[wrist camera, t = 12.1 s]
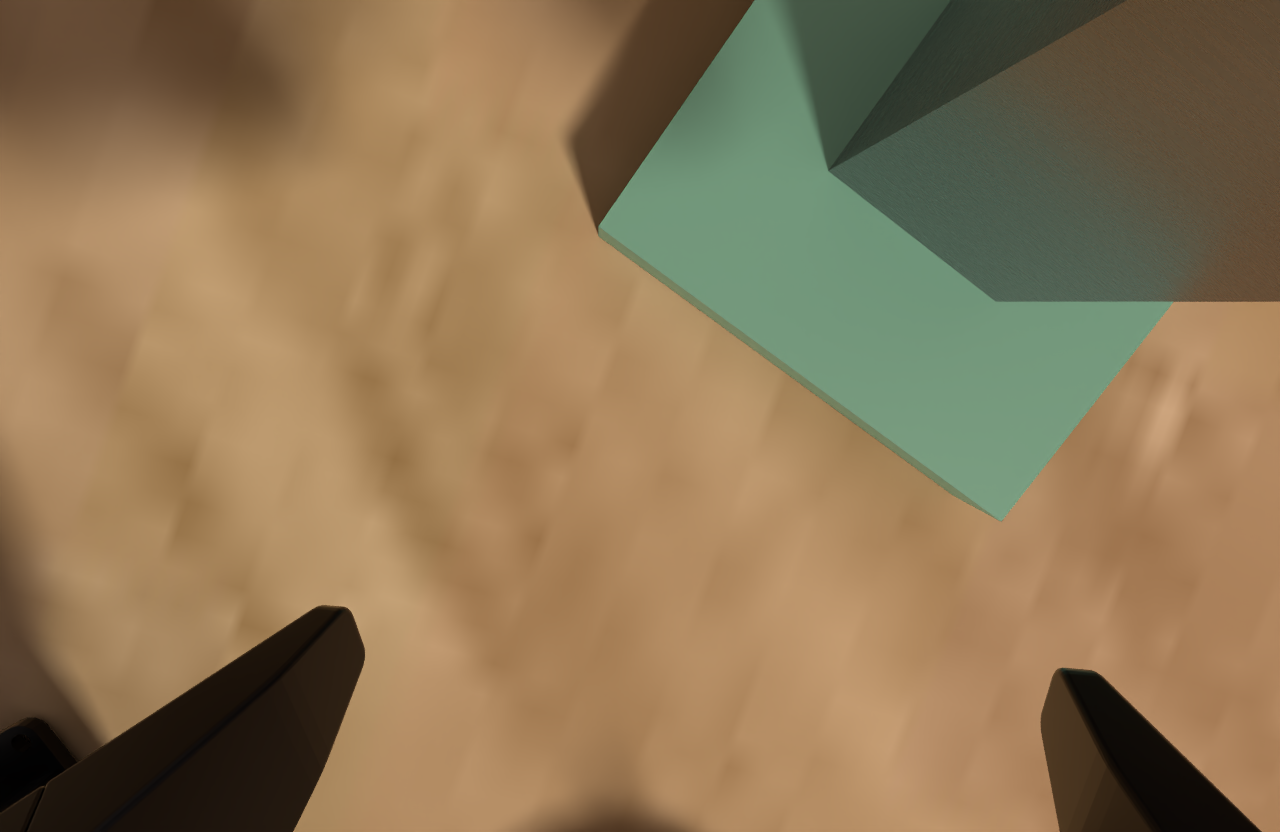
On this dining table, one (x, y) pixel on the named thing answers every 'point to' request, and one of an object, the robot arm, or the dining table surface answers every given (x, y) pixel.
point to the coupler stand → (857, 258)
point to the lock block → (1087, 149)
